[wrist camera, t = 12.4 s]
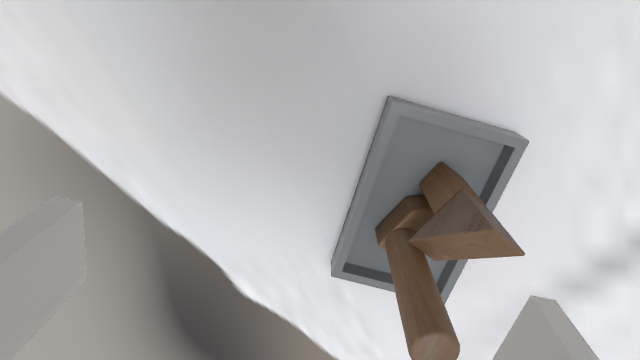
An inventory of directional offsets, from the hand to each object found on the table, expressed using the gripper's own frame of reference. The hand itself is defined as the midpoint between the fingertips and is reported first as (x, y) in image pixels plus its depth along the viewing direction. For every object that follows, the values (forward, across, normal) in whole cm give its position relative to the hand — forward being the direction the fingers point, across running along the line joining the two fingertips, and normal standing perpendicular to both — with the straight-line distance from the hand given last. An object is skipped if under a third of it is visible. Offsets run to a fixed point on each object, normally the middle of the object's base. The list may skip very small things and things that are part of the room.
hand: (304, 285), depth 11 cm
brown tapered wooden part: (+29, +13, -10) cm, 33 cm away
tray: (+29, +13, -10) cm, 34 cm away
